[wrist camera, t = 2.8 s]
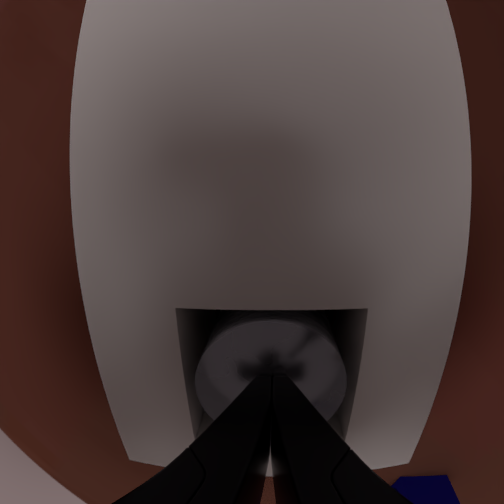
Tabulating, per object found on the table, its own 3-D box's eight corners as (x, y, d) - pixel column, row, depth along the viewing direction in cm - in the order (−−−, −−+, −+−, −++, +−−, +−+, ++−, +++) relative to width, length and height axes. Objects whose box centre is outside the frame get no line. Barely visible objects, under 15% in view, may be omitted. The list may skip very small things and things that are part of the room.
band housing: (365, -60, 8) (389, -121, 4) (377, 388, 13) (408, 463, 8) (160, -55, 9) (126, -113, 4) (166, 386, 14) (129, 459, 9)
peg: (326, 269, 12) (355, 321, 7) (320, 361, 12) (336, 438, 8) (219, 269, 12) (187, 320, 7) (224, 361, 13) (202, 437, 8)
